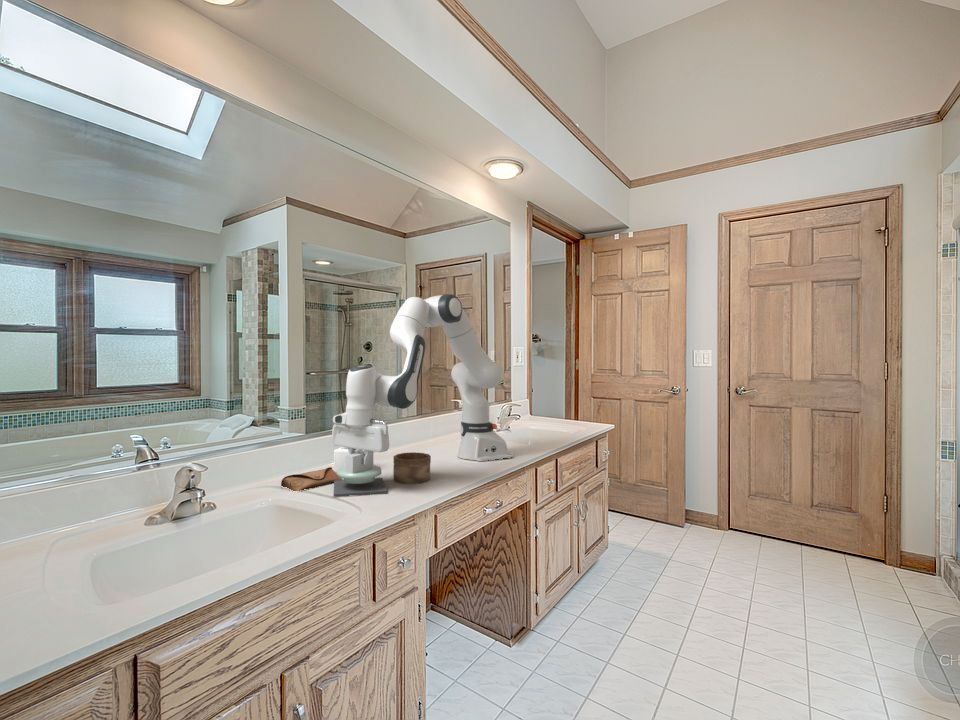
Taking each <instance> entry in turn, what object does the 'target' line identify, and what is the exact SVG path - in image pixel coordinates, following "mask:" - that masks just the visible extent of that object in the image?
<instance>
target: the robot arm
mask: <svg viewBox="0 0 960 720" xmlns="http://www.w3.org/2000/svg"><path fill="white" fill-rule="evenodd" d="M440 326H442V328H443V332H444V335H445V337H446V339H447V342H448V345H449V347H450V349H451V351H452V354H453V355H454V357H456V358H457V359H458V360H459V361H460V362H458V363H455V364H454V365H453V367H452V369H451V374H450V376H451V379H452V381H453V382H454V383H455V385H456V386H457V389H458V392H459V395H460V399H461V414H462V415H461V421H460V422H461V423H460V435H461V436H460V444H459V450H458V453H457V457H458V458H460V459H464V460H470V461H471V460H472V461H477V462H487V461H488V460H489V461H496V460H495V459H499V460H504V459H503V458H508V459H512V458H511V457H514V455H513V453H512V452H510V451H508V445H507V442H506V441H505V439H504V438H502V437H501V436H500V435H499V434H498V433H497V432H495V431H494V430H497V428H498V425H497V424H496V423H493V422H490V403H489V401H488V399H486V397H485V396H484V393H483V390H488V389H494V388H497V387H499V386H500V385H501V383H502V382H503V380H504V379H503V378H504V372H503V368H501V365H499V364H498V363H496V362H495V361H493V360H492V359H491V357H489V355H488V354H487V353H486V351H485V350H484V349H483V347H482V346H481V344H480V342H479V340H478V336H477V335H476V333H475V331H474V328H473V325H472V323H471V321H470V319H469V317H468V314H467V313H466V312H465V310H464V308H463V305H462V302H461V300H460V299H459V298H458V297H457V295H455V294H452V293H451V294H450V293H445V294H442V295H434V296H430V297H427V298H425V299H424V298H422V297H419V296H412V297H408V298H406V300H405V301H404V302H403V304H402V305H401V306H400V308H399V310H398V311H397V313H396V315H395V317H394V318H393V321H392V323H391V326H390V328H389V329H390V330H389V336H390V338H391V339H390V340H392V342H393V344H394V345H395V346H396V347H398V348H399V349H401V350H402V351H404V352H406V353H407V354H406V358H405V362H404V365H403V368H402V372H401V373H400V374H398V375H383V374H382V373H380V372H378V371H377V370H376V369H375V367H374V366H373V365H371V364H361V365H359V364H358V365H353V367H350V368H349V370H348V373H347V376H346V384H345V397H346V400H347V401H346V405H345V412H343V413H340V414H336V415H334V416H333V417H332V423H334V424H333V425H332V432H331V436H332V437H331V442H332V444H333V446H335V447H339V446H340V447H347V448H348V452H349V454H350V455H351V454H355V453H356V452H355V451H356V449H360V450H363V451H364V454H365V457H364V458H362V464H364V465H367V464H369V458H370V456H371V454H372V451H374V452H376V453H383V452H387V451H388V450H389V449H390V437H389V427H388V424H387V423H386V422H385V421H384V420H383V419H382V420H378V419H376V408H377V407H376V406H384V407H393V408H395V409H397V408H398V409H403V410H404V409H408V408H409V407H411V406H412V405H413V404H414V403H415V401H416V399H417V396H418V390H419V389H418V388H419V380H420V375H421V371H422V366H423V362H424V357H425V352H426V341H425V339H424V337H423V335H424V333H425V329H427V328H436V327H440ZM340 447H339V448H340ZM374 452H373V453H374Z"/></svg>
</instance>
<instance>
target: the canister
mask: <svg viewBox="0 0 960 720" xmlns="http://www.w3.org/2000/svg"><path fill="white" fill-rule="evenodd" d="M431 458H432V457H431V455H430V454H429V453H424V452H413V451H412V452H402V453H397V454H394V455H393V470H392V471H393V474H392V475H393V477H392V478H393V481H394V482H395V483H398V484H404V485H405V484H406V485H413V484H414V485H415V484H416V483H417V484H422V483H423V484H424V483H427V482H429V481H430V480H431V460H432V459H431Z"/></svg>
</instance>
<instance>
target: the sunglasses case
mask: <svg viewBox="0 0 960 720" xmlns="http://www.w3.org/2000/svg"><path fill="white" fill-rule="evenodd" d="M336 480H344V478H340V477H338V475H337V473H336V472H335V471H334V470H333V467H331V466H330V467H327V468H323V469H319V470H311V471H308V472H303V473H299V474H289V475H287V476H284V477H283V478H282V480H281V481H280V482H281V483H280V487H281V486H283V487H287V488H289V489H291V490H293V491H300V490H304V489H308V490H310V489H309V488H312V489H316V488H319V486H320V487H324V486H327V485H333V484H334V481H336ZM332 483H333V484H332ZM315 487H316V488H315ZM293 491H292V492H293ZM304 491H305V490H304Z"/></svg>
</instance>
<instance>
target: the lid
mask: <svg viewBox="0 0 960 720" xmlns="http://www.w3.org/2000/svg"><path fill="white" fill-rule="evenodd" d="M364 457H365V454H364V450H363V452H359V453H355V454H351V455H347V456H346V467H343V468H340V469H338V471H337V475H338V477H340V478H342V479H343V480H344V482H346V483H350V484H364V483H369V482H372V481H374V480H375V478H378V476H381V474H382V468H381V466H378V465H374V451H372V454H371V456H370V458H369V464H367V465H364V464H362V458H364Z"/></svg>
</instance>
